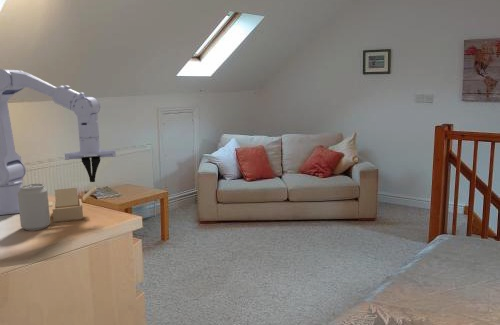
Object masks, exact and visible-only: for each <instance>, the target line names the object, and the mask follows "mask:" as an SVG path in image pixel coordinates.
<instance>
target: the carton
mask: <svg viewBox="0 0 500 325" xmlns="http://www.w3.org/2000/svg"><path fill="white" fill-rule="evenodd" d="M82 201H83V200H82V198H78V205H71V206H61V207H56V200H54V201H48V202H49V208H51V207H52V218H53V219H52V220H53V224H57V223H66V222H72V221H73V222H74V221H82V220H84V215H83V214H84V213H83V202H82Z"/></svg>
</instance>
